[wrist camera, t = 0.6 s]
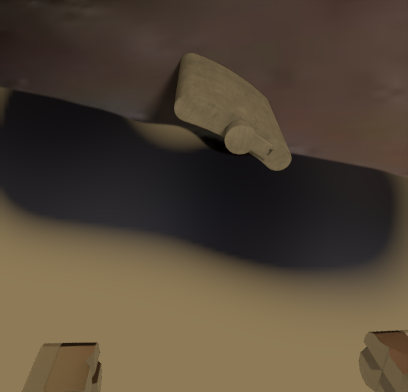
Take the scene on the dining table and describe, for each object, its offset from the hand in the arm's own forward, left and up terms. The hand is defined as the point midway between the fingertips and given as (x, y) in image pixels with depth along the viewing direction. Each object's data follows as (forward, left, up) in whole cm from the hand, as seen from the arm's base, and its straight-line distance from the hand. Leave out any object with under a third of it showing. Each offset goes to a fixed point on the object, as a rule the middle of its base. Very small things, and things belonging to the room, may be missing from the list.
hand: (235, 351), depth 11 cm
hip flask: (+4, +8, -50) cm, 51 cm away
